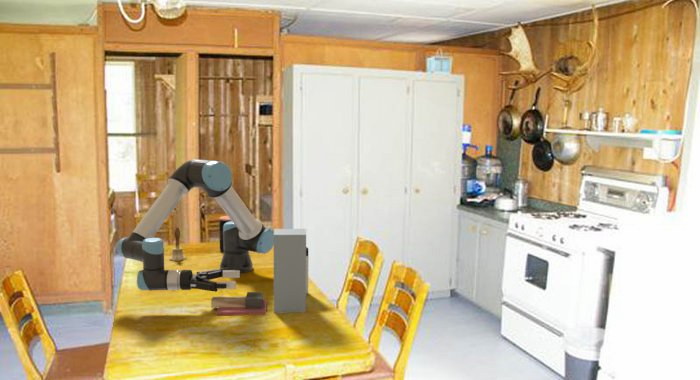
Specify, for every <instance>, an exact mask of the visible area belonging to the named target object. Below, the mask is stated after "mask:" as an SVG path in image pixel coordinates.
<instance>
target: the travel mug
mask: <svg viewBox="0 0 700 380" xmlns="http://www.w3.org/2000/svg"><path fill="white" fill-rule="evenodd" d="M308 295H309V247H308V246H306V296H308Z"/></svg>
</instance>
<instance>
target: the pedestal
mask: <svg viewBox="0 0 700 380" xmlns="http://www.w3.org/2000/svg"><path fill="white" fill-rule="evenodd" d="M273 231H274V245H273V313H279V314H280V313H306V311H307V306H306V305H307V304H306V300H307V298H306V297H307V295H306V247H307V229H306V228H274V230H273Z"/></svg>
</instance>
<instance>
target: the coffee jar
mask: <svg viewBox="0 0 700 380" xmlns="http://www.w3.org/2000/svg"><path fill="white" fill-rule="evenodd" d="M218 219H219V229H218V230H219V231H218V232H219V250H220V252H221V253H224V247H223V226H224V224H225V223H226V222H230V221H232V220H231V219H230V218H229V217H228V215H221V216H220V217H219V218H218Z"/></svg>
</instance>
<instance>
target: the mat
mask: <svg viewBox="0 0 700 380" xmlns="http://www.w3.org/2000/svg"><path fill="white" fill-rule="evenodd" d="M267 307H268V299H263V304H262V309H245V307H217V310H216V313H215V314H216V316H225V315H226V316H230V315H231V316H233V315H235V316H237V315H240V316H241V315H242V316H243V315H266V314H267Z"/></svg>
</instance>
